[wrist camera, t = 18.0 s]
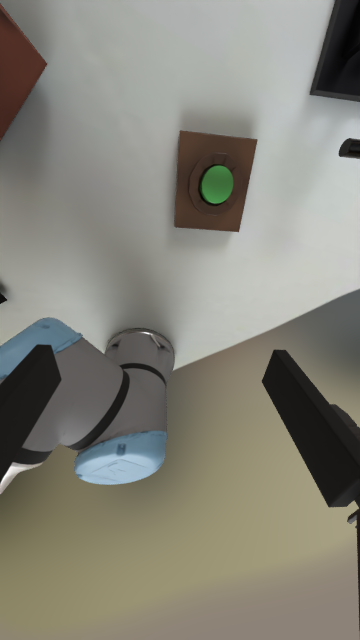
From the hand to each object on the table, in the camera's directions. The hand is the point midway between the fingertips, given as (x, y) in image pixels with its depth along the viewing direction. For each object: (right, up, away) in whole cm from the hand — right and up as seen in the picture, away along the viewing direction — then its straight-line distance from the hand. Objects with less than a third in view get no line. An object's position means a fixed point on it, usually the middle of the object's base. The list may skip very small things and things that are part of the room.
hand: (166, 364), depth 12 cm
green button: (+6, +21, +15) cm, 26 cm away
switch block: (+5, +23, +18) cm, 29 cm away
